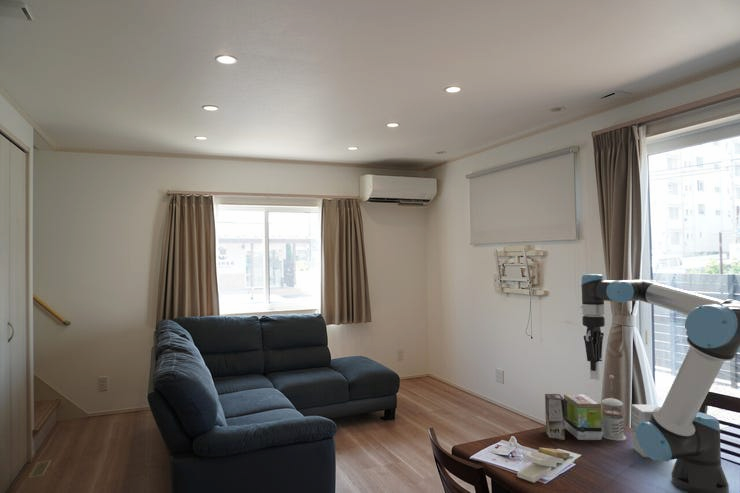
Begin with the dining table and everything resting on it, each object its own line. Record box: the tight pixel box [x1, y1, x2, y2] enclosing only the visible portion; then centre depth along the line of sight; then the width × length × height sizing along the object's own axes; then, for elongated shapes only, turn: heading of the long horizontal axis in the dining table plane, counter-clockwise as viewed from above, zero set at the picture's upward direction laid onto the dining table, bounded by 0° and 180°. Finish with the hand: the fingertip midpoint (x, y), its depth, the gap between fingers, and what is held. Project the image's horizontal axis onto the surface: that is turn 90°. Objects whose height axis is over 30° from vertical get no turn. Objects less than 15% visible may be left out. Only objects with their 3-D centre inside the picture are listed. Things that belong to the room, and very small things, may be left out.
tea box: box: [563, 393, 603, 441], centre depth 202 cm, size 15×10×15 cm
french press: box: [601, 374, 627, 441], centre depth 199 cm, size 10×12×25 cm
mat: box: [546, 448, 582, 477], centre depth 173 cm, size 25×9×1 cm, turn 133°
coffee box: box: [544, 393, 566, 441], centre depth 200 cm, size 9×6×16 cm
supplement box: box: [630, 404, 660, 458], centre depth 181 cm, size 10×9×17 cm
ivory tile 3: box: [516, 462, 551, 483], centre depth 163 cm, size 2×6×12 cm
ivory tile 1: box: [530, 450, 564, 464], centre depth 169 cm, size 2×6×12 cm
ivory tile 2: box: [523, 454, 557, 467], centre depth 166 cm, size 2×6×12 cm
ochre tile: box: [537, 447, 570, 458], centre depth 174 cm, size 2×6×12 cm
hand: (594, 379), depth 179 cm, fingers closed
